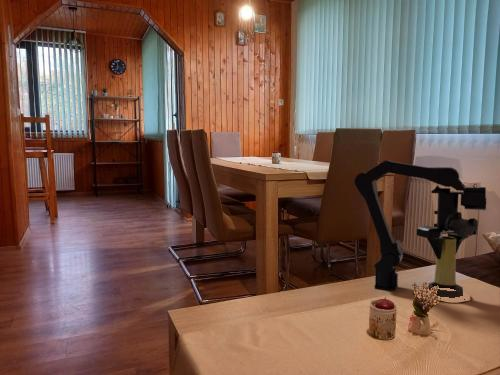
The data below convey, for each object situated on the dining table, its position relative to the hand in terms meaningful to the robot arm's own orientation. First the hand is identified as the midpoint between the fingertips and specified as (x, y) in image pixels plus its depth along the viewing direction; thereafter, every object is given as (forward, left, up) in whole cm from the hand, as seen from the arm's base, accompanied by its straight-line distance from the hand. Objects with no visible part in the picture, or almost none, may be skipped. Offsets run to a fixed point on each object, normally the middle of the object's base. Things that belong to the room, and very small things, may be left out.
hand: (445, 258), depth 128 cm
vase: (0, 0, -8) cm, 8 cm away
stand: (0, 0, -12) cm, 12 cm away
